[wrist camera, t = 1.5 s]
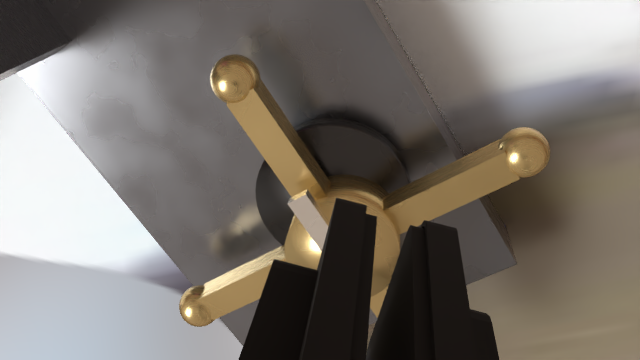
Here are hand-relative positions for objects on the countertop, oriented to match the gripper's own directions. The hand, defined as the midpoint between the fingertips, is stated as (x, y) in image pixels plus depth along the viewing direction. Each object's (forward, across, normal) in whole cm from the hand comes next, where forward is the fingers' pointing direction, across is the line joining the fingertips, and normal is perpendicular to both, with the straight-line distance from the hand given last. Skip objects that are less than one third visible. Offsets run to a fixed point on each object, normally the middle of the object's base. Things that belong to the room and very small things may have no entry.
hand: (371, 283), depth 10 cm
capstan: (+14, 0, +6) cm, 15 cm away
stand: (+17, +5, +4) cm, 18 cm away
